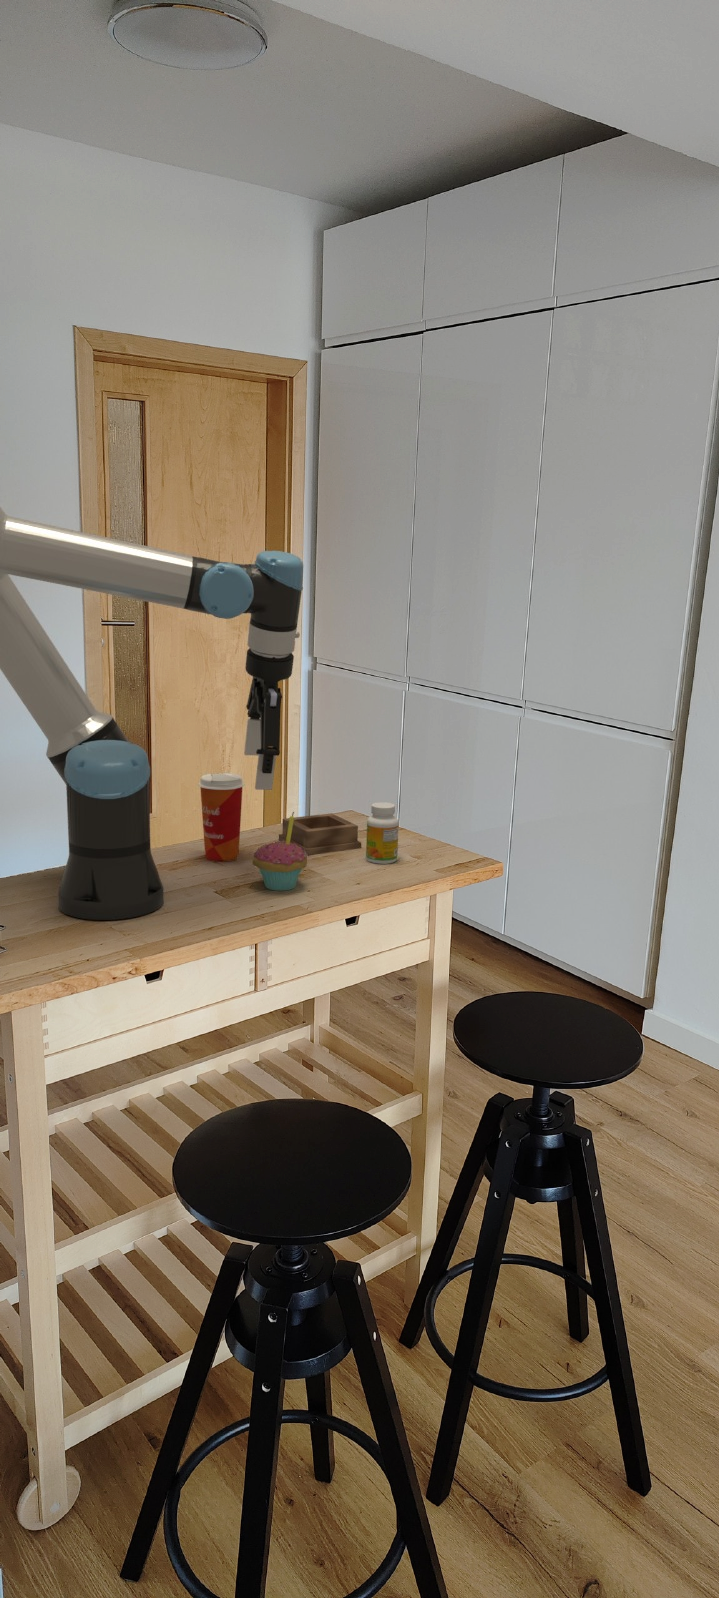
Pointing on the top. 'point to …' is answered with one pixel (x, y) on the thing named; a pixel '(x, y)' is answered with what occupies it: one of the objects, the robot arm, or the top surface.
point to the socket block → (322, 833)
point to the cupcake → (280, 862)
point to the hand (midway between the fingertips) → (257, 771)
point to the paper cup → (221, 815)
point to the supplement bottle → (382, 834)
